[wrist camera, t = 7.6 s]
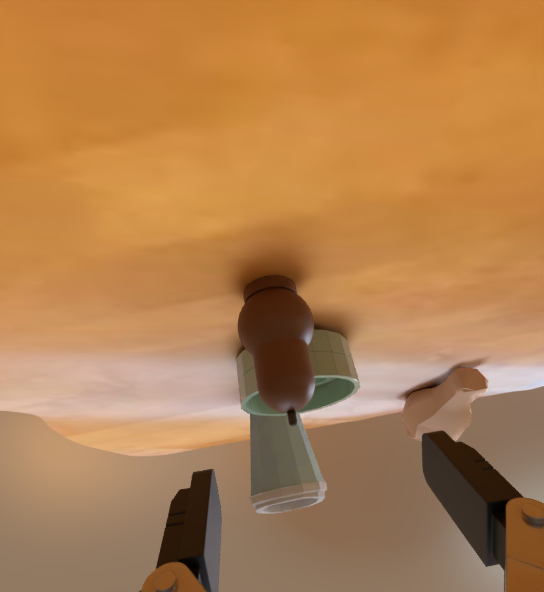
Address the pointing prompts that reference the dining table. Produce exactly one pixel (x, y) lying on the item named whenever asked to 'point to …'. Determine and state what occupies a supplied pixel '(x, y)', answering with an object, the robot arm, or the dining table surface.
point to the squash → (444, 405)
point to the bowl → (327, 371)
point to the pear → (279, 343)
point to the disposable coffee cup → (282, 466)
